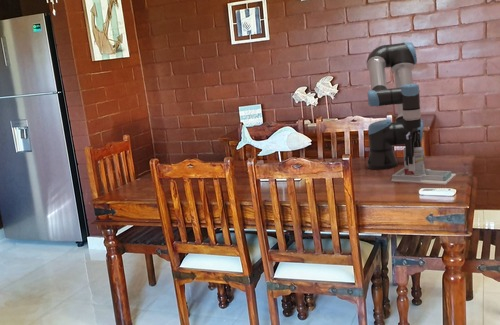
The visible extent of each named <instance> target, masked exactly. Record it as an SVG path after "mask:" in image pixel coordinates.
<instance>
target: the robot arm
mask: <svg viewBox="0 0 500 325" xmlns="http://www.w3.org/2000/svg"><path fill="white" fill-rule="evenodd" d="M417 59H418V58H417V53H416V48H415V45H414V44H413V42H400V43H392V44H382V45H380V46H377V47H376V48H374V49H373V50H372V51H371V52H370V53H369V55H368V56H367V60H366V68H367V70H368V72H369V81H370V90H368V91H367V103H368V106H369V107H383V106H391V105H393V106H394V105H397V106H396V108H397V116H396V118H395V121H394V122H393V121H392V120H391V119H382V120H377V121H374V122H372V123H370V124H369V125H368V133H367V135H368V145H369V154H368V159H367V164H366V166H367V169H369V170H375V171H377V170H378V171H381V170H382V171H384V170H391V169H396V168H397V167H398V166H399V163H398V162H399V161H398V159H397V156H396V154H395V152H394V146H404V145H405V147H404V148H405V149H406V157H408V167H409V171H415V157H413V156H414V147H422V141H423V136H424V120H423V119H421V117H422V115H421V104H420V102H421V100H420V85H419V84H418V83H414V81H413V72H412V71H413V69H414V68H415V65H416V64H418V63H417V62H418V60H417ZM385 68H386V69H387V68H390V71H391V72H393V74H394V83H395V87H394V88H388V84H387V77H386V76H387V75H386V70H385Z"/></svg>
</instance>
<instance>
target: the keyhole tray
mask: <svg viewBox="0 0 500 325" xmlns="http://www.w3.org/2000/svg"><path fill="white" fill-rule="evenodd" d="M456 176H457V173H452V170H451V171H450V170H432V169H431V168H425V173H424V175H405V169H404V167H402V168H401V169H400V170H398V171H396V172H395V173H393V174H392V175H391V180H390V182H392V183H394V182H395V183H406V184H407V183H411V184H428V185H429V184H430V185H445V186H446V185H447V184H448V183H449V182H451V180H453V178H455V177H456Z"/></svg>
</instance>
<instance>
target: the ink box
mask: <svg viewBox="0 0 500 325" xmlns="http://www.w3.org/2000/svg"><path fill="white" fill-rule="evenodd" d="M424 149H425V148H424V147H422V146H421V147H414V156H413V157H415V171H409V167H408V157H406V149H405V147H404V148H403V164H404V165H403V166H404V167H403V168H404V169H405V175H424V173H425V169H426V167H425V150H424Z"/></svg>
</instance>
